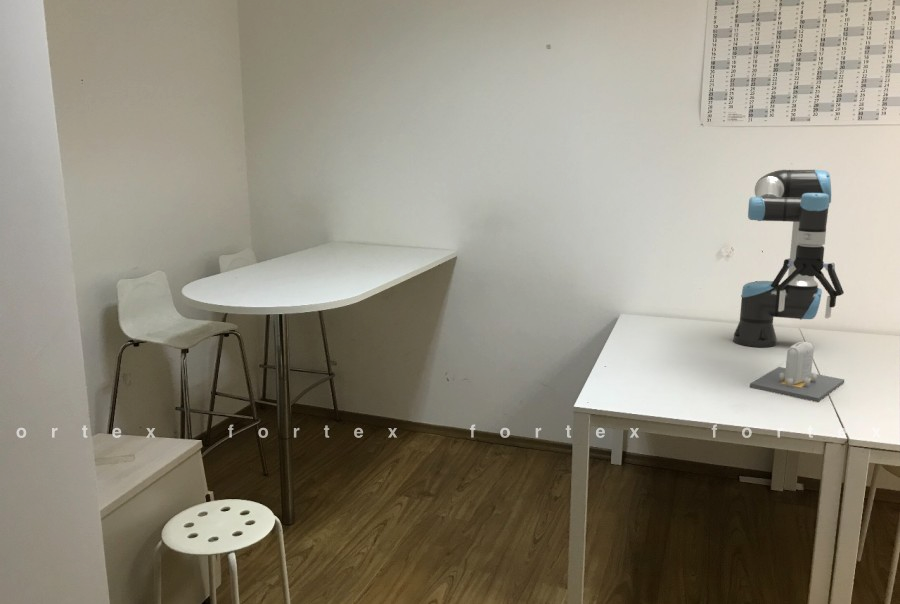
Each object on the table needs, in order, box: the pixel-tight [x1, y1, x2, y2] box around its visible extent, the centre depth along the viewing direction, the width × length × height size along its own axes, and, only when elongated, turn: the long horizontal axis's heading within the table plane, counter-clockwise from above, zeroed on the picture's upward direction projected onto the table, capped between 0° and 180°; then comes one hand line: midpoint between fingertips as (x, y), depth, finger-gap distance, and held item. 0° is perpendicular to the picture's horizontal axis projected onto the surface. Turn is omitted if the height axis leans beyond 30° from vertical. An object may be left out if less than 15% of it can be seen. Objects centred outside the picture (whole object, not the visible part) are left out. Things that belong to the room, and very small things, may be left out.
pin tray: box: [749, 366, 845, 403], centre depth 228 cm, size 20×24×4 cm
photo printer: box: [785, 341, 815, 384], centre depth 227 cm, size 10×4×12 cm, turn 127°
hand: (803, 314), depth 224 cm, fingers open, 13 cm apart
